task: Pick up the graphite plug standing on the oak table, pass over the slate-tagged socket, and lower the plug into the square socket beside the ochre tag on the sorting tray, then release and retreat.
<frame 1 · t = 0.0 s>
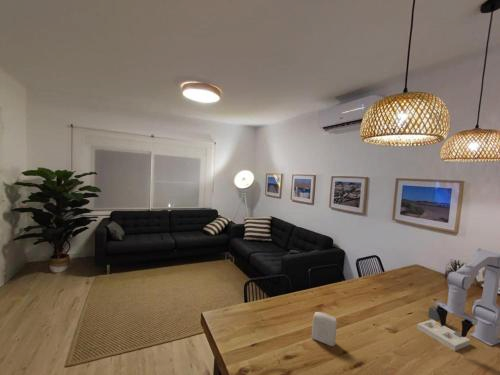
hand: (453, 330, 102), 10 cm above the table, fingers open, 7 cm apart
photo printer: (323, 341, 106), on the table
plug: (434, 321, 126), on the table
sorting tray: (442, 336, 114), on the table
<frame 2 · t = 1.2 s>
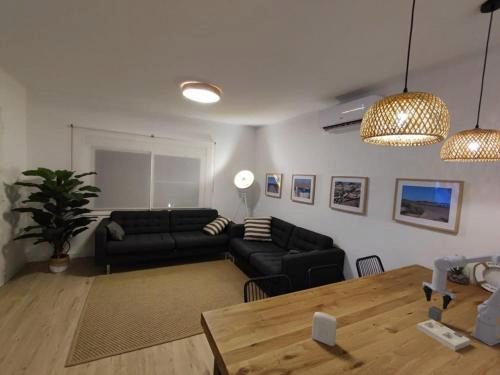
hand: (436, 304, 125), 9 cm above the table, fingers open, 7 cm apart
nothing on the table moved.
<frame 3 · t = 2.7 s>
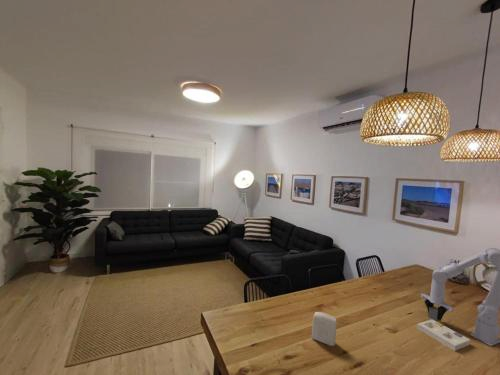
hand: (434, 316, 126), 2 cm above the table, fingers closed on plug, 4 cm apart
plug: (434, 321, 126), on the table, touching gripper
everything else where it was.
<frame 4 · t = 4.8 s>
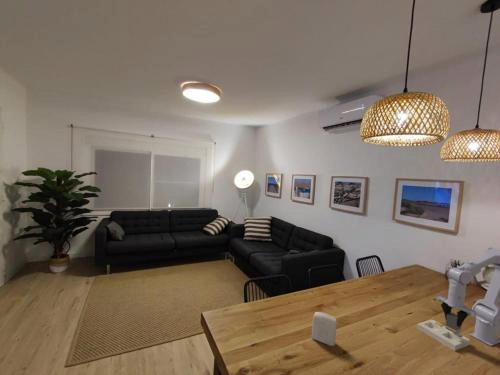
hand: (453, 322, 110), 9 cm above the table, fingers closed on plug, 4 cm apart
plug: (452, 329, 110), point 6 cm above the table, touching gripper
everything else where it was.
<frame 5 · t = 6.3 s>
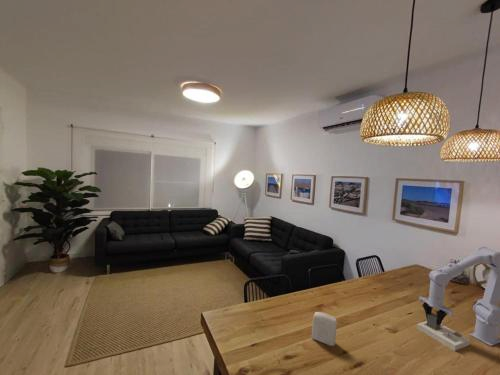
hand: (433, 321, 117), 5 cm above the table, fingers closed on plug, 4 cm apart
plug: (433, 329, 117), point 1 cm above the table, touching gripper
everything else where it was.
when the fingers open (4 cm above the table, at t = 7.1 s): plug stays where it is, resting on sorting tray.
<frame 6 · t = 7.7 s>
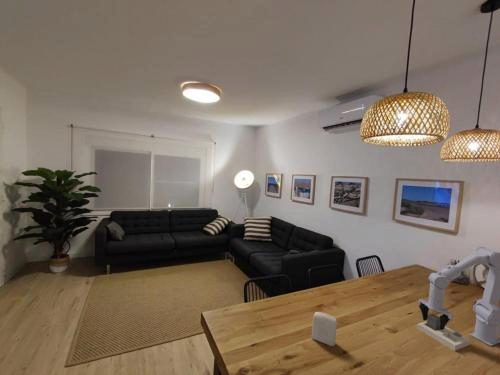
hand: (433, 324, 117), 4 cm above the table, fingers open, 7 cm apart
plug: (433, 330, 117), resting on sorting tray
everything else where it was.
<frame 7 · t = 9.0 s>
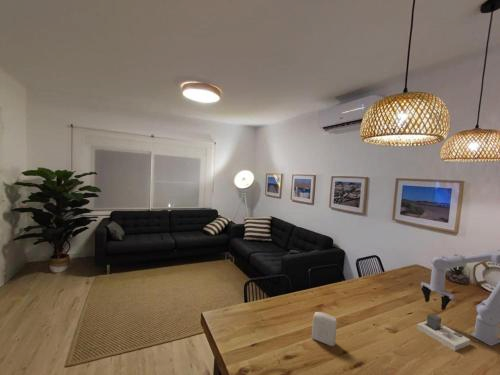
hand: (434, 305, 123), 10 cm above the table, fingers open, 7 cm apart
nothing on the table moved.
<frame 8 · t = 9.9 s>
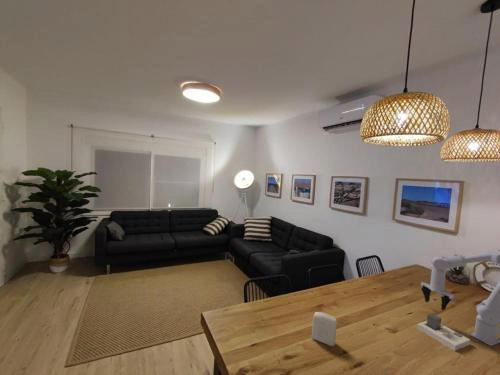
hand: (434, 305, 123), 10 cm above the table, fingers open, 7 cm apart
nothing on the table moved.
at the end: plug 0.3 cm from the target spot on the sorting tray, point 0.5 cm above the sorting tray's base; plug tilted 0°; the gripper is holding nothing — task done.
